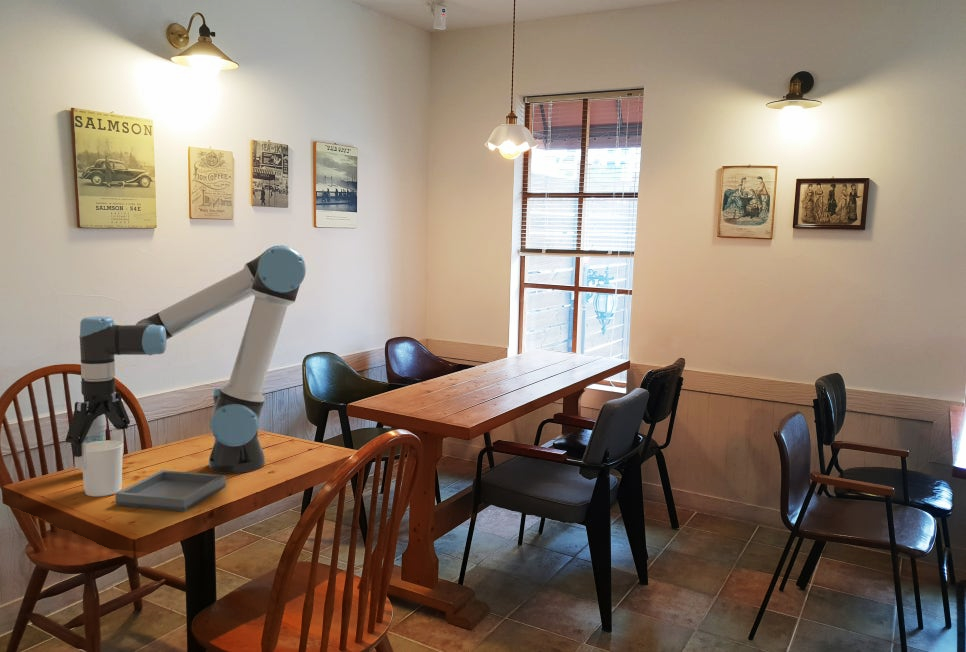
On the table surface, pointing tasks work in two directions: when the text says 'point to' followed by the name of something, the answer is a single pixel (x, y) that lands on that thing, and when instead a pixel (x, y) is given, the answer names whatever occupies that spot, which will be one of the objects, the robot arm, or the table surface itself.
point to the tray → (171, 490)
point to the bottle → (96, 430)
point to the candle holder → (103, 468)
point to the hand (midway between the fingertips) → (100, 460)
